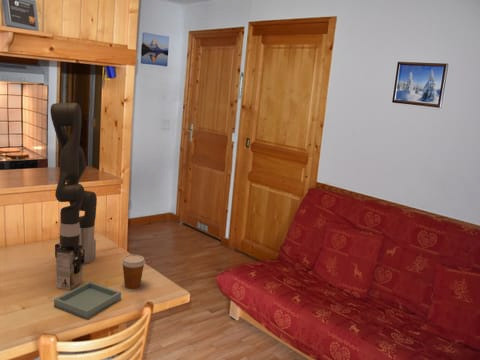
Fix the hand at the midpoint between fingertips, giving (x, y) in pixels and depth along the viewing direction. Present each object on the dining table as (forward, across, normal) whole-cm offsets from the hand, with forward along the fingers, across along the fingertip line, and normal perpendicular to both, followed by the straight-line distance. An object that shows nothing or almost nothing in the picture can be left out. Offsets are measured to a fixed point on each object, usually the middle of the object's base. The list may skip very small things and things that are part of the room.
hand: (69, 271), depth 180 cm
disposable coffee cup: (+6, -21, -14) cm, 26 cm away
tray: (+6, -17, +7) cm, 19 cm away
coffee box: (+6, 0, 0) cm, 6 cm away
